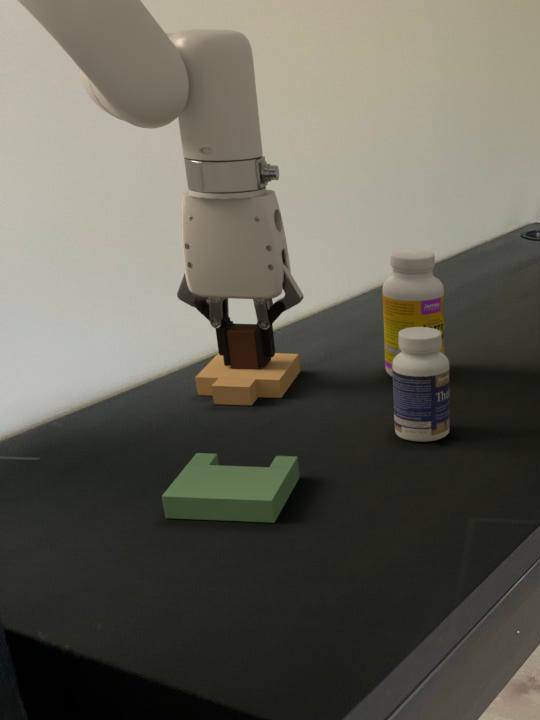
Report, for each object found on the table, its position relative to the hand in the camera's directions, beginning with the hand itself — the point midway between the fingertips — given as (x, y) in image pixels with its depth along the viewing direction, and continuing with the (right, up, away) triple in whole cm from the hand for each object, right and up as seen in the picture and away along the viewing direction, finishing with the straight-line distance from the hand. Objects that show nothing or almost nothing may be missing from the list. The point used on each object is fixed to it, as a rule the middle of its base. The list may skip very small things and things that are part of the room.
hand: (248, 361), depth 107 cm
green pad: (+4, -18, -23) cm, 30 cm away
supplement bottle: (+18, 0, +5) cm, 18 cm away
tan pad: (0, -3, 0) cm, 3 cm away
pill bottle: (+20, -10, -11) cm, 24 cm away
